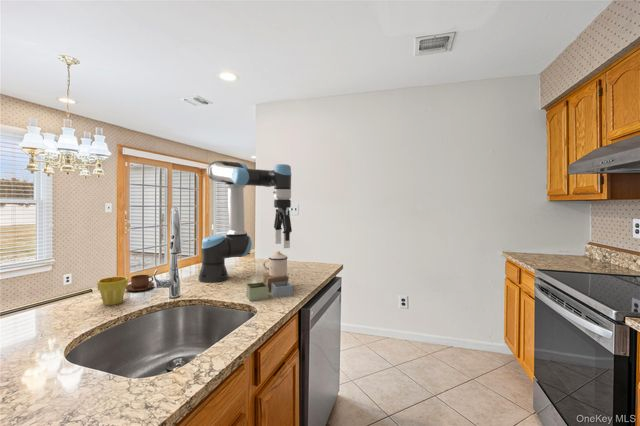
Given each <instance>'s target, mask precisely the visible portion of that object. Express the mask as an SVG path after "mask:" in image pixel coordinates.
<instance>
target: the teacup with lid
mask: <svg viewBox="0 0 640 426" xmlns="http://www.w3.org/2000/svg"><path fill="white" fill-rule="evenodd" d="M266 262H268V267H266V264H265V263H266ZM262 266H263V268H264V269H265V270H266V271H268V273H269V275H270V276H272V277H283V276H286V275H287V276H288V256H287V255H286V254H283V253H281V251H280V250H276V252H274V253H273V254H270V255H269V257H268V259H265V260H263V263H262Z"/></svg>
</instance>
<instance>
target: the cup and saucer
mask: <svg viewBox="0 0 640 426" xmlns="http://www.w3.org/2000/svg"><path fill="white" fill-rule="evenodd" d="M150 278H151V280H150ZM153 281H154V277H153V276H152V275H151V276H150V275H148V274H136V275H132V276H130V283H128V285H127V287H126V288H125V290H127V291H131V292H139V291H140V292H141V291H142V292H143V291H147V290H149V289H152V288H153V287H154V286H155V283H154V282H153Z"/></svg>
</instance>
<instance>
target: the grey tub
mask: <svg viewBox="0 0 640 426" xmlns="http://www.w3.org/2000/svg"><path fill="white" fill-rule="evenodd" d="M270 293H271V294H272V295H273V296H274V298H283V297H292V296H294V284H292V283H291V282H290V281H285V282H275V283H271V292H270Z"/></svg>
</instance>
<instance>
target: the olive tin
mask: <svg viewBox="0 0 640 426" xmlns="http://www.w3.org/2000/svg"><path fill="white" fill-rule="evenodd" d="M246 298H247V299H248V301H249V302H250V303H251V302H257V301H266V300H267V301H268V300H269V292H268V286H267V285H266V283H265V282H263V281H262V282H261V281H260V282H250V283H246Z"/></svg>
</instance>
